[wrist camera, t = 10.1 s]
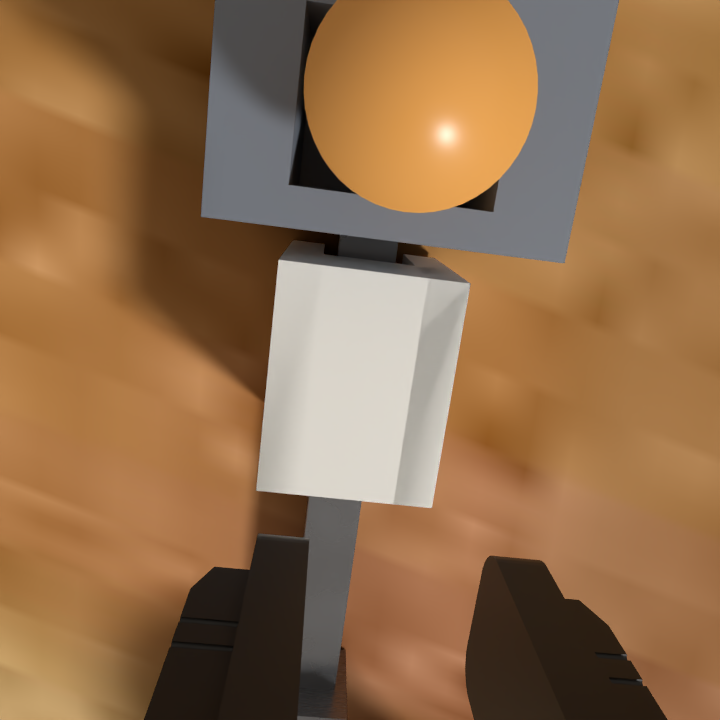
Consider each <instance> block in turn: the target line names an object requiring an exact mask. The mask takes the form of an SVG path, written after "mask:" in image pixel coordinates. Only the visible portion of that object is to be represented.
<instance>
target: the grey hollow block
mask: <svg viewBox="0 0 720 720" xmlns="http://www.w3.org/2000/svg"><path fill="white" fill-rule="evenodd" d="M336 1H337V0H215V9H214V24H213V40H212V55H211V70H210V85H209V101H208V116H207V131H206V147H205V162H204V177H203V192H202V208H201V217H207V218H215V219H223V220H231V221H238V222H246V223H254V224H262V225H270V226H277V227H285V228H293V229H301V230H309V231H316V232H324V233H332V234H340V235H348V236H355V237H363V238H371V239H379V240H387V241H394V242H402V243H410V244H418V245H426V246H433V247H441V248H449V249H457V250H465V251H472V252H480V253H488V254H496V255H504V256H511V257H519V258H527V259H535V260H543V261H550V262H558V263H565V258H566V253H567V248H568V243H569V239H570V234H571V229H572V224H573V219H574V215H575V210H576V205H577V200H578V195H579V191H580V186H581V181H582V176H583V171H584V167H585V162H586V157H587V152H588V147H589V142H590V138H591V133H592V128H593V123H594V118H595V114H596V109H597V104H598V99H599V94H600V90H601V85H602V80H603V75H604V70H605V65H606V61H607V56H608V51H609V46H610V41H611V37H612V32H613V27H614V22H615V17H616V13H617V8H618V3H619V0H508V1H509V2H510V4H511V5H512V6H513V8H514V9H515V10H516V12H517V13H518V15H519V17H520V18H521V20H522V22H523V24H524V26H525V28H526V30H527V32H528V35H529V38H530V40H531V43H532V46H533V50H534V54H535V58H536V65H537V73H538V96H537V104H536V110H535V115H534V119H533V123H532V126H531V129H530V131H529V134H528V137H527V139H526V141H525V143H524V145H523V147H522V149H521V151H520V153H519V155H518V156H517V157H516V159H515V160H514V162H513V163H512V165H511V166H510V168H509V169H508V170H507V171H506V172H505V173H504V174H503V175H502V177H501V178H500V179H499V180H498V181H496V182H495V183H494V184H493V185H492V186H491V187H490V188H488V189H487V190H486V191H484V192H483V193H481V194H480V195H478V196H477V197H475V198H473V199H471V200H469V201H467V202H465V203H463V204H461V205H458V206H455V207H452V208H450V209H446V210H441V211H436V212H427V213H411V212H401V211H396V210H392V209H388V208H385V207H382V206H379V205H376V204H374V203H372V202H370V201H368V200H366V199H364V198H362V197H361V196H359V195H358V194H356V193H355V192H353V191H352V190H350V189H349V188H348V187H347V186H346V185H345V184H344V183H342V182H341V181H340V180H339V179H338V178H337V176H336V175H335V174H334V173H333V172H332V171H331V169H330V168H329V167H328V165H327V164H326V162H325V161H324V159H323V158H322V156H321V154H320V152H319V150H318V148H317V146H316V144H315V142H314V140H313V137H312V134H311V131H310V128H309V125H308V120H307V116H306V111H305V102H304V74H305V68H306V62H307V57H308V54H309V50H310V47H311V44H312V41H313V39H314V36H315V34H316V32H317V29H318V27H319V25H320V24H321V22H322V20H323V19H324V17H325V15H326V14H327V12H328V11H329V10H330V8H331V7H332V6H333V5H334V3H335V2H336Z"/></svg>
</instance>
